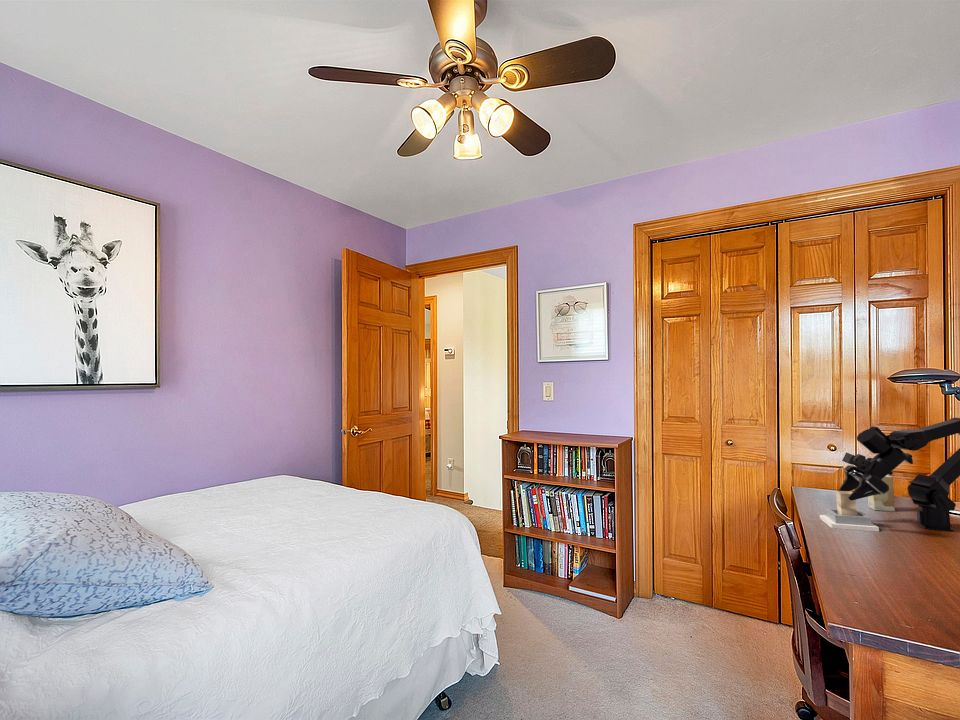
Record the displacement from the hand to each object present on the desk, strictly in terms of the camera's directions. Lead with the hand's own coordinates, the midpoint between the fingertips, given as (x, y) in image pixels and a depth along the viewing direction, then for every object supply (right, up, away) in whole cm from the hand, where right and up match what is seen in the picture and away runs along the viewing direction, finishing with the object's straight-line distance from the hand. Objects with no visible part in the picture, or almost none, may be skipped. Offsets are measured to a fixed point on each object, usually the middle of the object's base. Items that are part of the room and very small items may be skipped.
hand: (844, 496), depth 149 cm
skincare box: (+26, -10, +16) cm, 32 cm away
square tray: (+1, -9, -1) cm, 9 cm away
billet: (0, -8, -1) cm, 8 cm away
